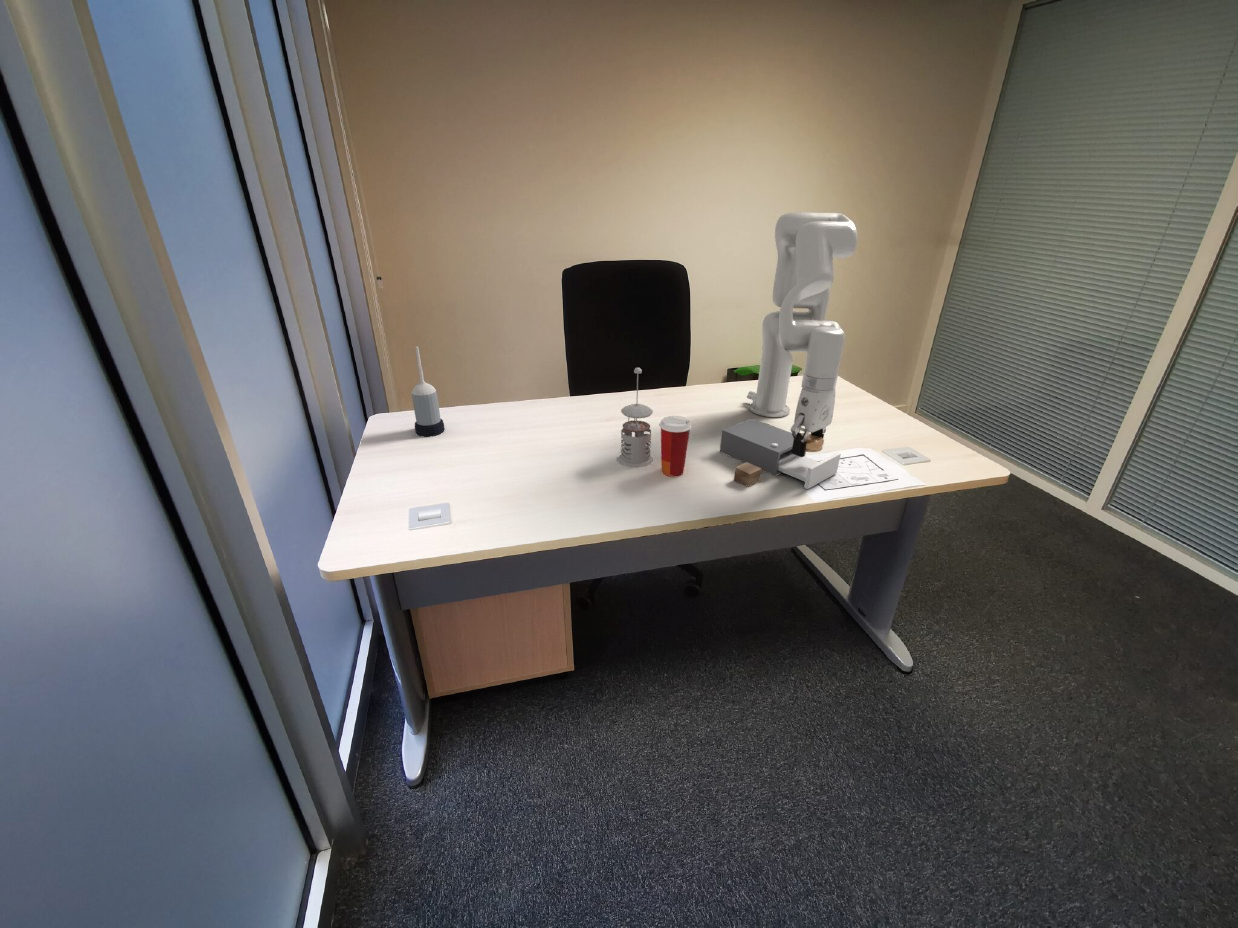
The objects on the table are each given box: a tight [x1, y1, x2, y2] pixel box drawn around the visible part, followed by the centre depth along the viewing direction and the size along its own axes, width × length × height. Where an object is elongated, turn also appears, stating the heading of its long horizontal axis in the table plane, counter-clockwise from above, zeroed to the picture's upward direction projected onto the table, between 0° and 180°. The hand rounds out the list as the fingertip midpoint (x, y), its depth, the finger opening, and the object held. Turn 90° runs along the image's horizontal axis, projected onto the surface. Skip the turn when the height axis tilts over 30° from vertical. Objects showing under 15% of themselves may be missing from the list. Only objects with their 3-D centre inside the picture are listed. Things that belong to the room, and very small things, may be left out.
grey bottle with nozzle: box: [411, 346, 446, 438], centre depth 153 cm, size 8×8×25 cm
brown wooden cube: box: [733, 462, 763, 488], centre depth 132 cm, size 4×4×4 cm
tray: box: [778, 450, 841, 490], centre depth 138 cm, size 18×13×5 cm
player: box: [719, 418, 807, 477], centre depth 144 cm, size 18×13×7 cm
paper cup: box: [658, 415, 692, 478], centre depth 134 cm, size 8×8×14 cm
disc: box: [793, 432, 825, 453], centre depth 133 cm, size 7×7×2 cm
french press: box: [616, 367, 655, 469], centre depth 138 cm, size 10×12×25 cm
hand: (806, 450), depth 134 cm, fingers closed on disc, 7 cm apart
